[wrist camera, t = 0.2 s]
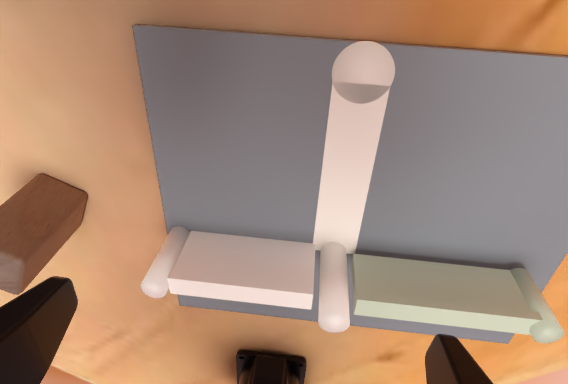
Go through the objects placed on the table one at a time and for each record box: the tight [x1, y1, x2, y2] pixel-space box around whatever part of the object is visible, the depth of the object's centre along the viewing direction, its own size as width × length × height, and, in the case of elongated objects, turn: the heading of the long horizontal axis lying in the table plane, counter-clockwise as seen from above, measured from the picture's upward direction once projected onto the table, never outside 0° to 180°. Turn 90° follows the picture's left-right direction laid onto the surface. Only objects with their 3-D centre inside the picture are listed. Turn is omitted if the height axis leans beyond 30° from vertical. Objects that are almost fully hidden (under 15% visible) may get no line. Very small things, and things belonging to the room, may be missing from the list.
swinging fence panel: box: [351, 254, 564, 343], centre depth 24 cm, size 2×12×4 cm, turn 88°
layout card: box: [132, 24, 568, 344], centre depth 22 cm, size 22×27×6 cm
